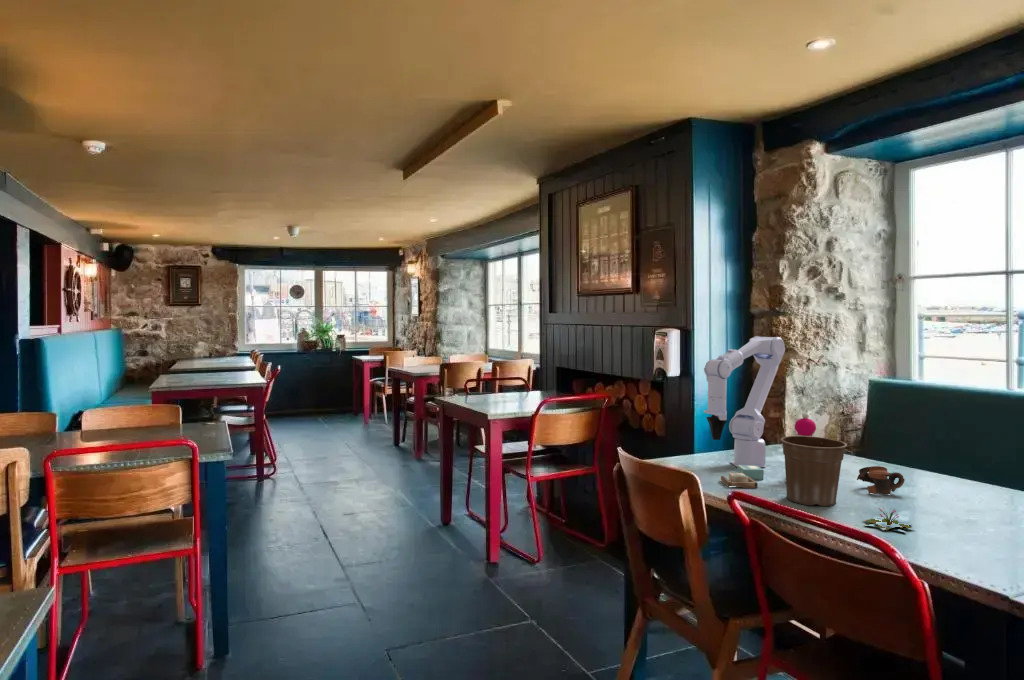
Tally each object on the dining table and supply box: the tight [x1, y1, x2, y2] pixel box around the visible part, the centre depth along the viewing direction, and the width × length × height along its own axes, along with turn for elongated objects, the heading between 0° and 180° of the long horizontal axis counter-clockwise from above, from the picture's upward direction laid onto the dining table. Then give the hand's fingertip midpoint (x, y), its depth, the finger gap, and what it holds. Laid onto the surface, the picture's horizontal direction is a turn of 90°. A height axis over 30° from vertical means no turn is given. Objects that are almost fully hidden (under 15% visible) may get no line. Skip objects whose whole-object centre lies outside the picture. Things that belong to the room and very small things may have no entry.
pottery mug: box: [856, 465, 905, 495], centre depth 195 cm, size 12×10×8 cm
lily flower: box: [863, 507, 912, 531], centre depth 163 cm, size 12×12×5 cm
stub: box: [728, 472, 748, 482], centre depth 203 cm, size 4×5×3 cm
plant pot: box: [780, 435, 848, 507], centre depth 185 cm, size 16×16×16 cm
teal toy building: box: [736, 465, 765, 481], centre depth 211 cm, size 6×6×3 cm
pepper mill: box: [794, 412, 817, 437], centre depth 210 cm, size 7×7×20 cm
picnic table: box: [720, 475, 759, 489], centre depth 202 cm, size 8×8×2 cm
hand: (716, 439), depth 220 cm, fingers closed
